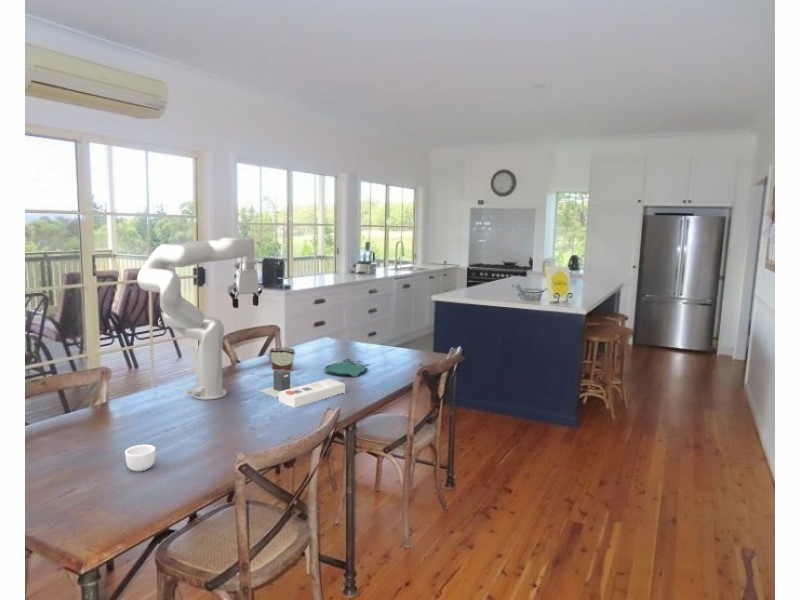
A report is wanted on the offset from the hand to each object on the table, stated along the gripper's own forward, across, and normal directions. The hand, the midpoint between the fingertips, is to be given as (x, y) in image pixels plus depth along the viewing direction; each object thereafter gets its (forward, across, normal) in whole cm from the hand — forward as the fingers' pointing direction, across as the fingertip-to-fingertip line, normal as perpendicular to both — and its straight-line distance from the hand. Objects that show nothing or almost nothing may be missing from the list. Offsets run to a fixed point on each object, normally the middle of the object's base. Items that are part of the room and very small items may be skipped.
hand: (245, 306), depth 232 cm
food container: (+34, +25, +7) cm, 42 cm away
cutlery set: (+34, +48, -14) cm, 61 cm away
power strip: (+33, +8, -35) cm, 49 cm away
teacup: (+34, -67, -49) cm, 90 cm away
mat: (+33, +4, -20) cm, 39 cm away
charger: (+33, +4, -20) cm, 39 cm away
